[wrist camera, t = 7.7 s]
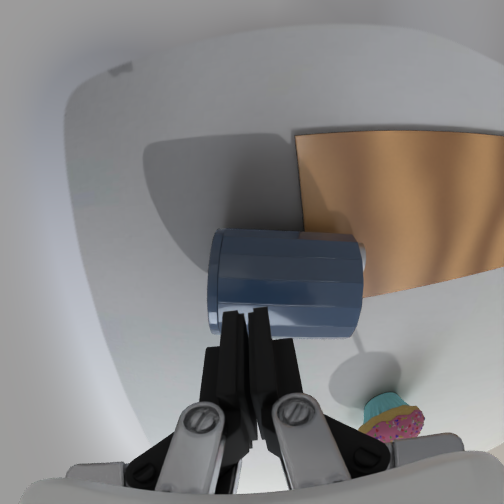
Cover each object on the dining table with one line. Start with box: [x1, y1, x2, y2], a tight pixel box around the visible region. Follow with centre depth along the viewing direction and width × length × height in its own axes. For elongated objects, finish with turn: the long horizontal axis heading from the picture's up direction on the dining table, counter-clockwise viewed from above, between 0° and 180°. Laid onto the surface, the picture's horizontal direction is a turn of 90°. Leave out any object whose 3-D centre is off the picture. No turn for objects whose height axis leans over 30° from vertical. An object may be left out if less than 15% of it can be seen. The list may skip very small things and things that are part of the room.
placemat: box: [295, 130, 504, 298], centre depth 22 cm, size 40×14×1 cm, turn 98°
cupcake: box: [358, 392, 425, 443], centre depth 27 cm, size 9×8×12 cm
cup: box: [207, 228, 364, 339], centre depth 21 cm, size 7×7×9 cm
